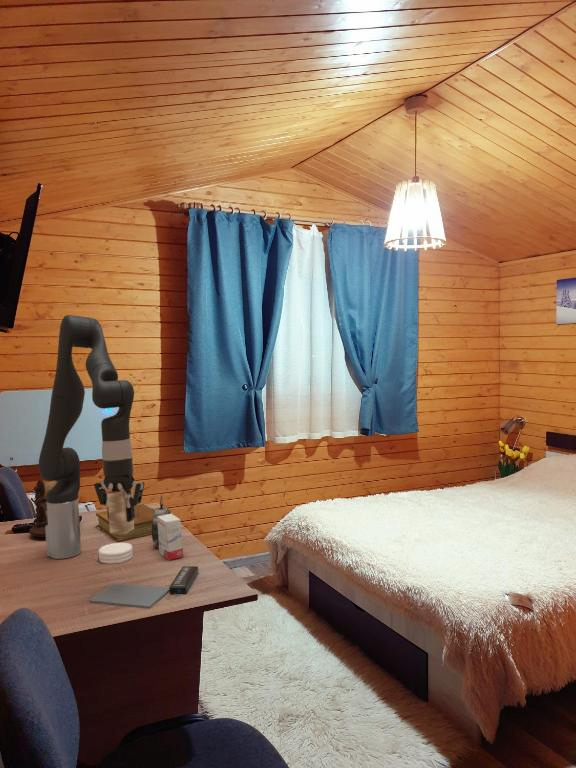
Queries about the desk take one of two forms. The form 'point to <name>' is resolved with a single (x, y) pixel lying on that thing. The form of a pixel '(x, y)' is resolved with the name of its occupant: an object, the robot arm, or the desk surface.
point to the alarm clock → (157, 512)
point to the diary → (140, 524)
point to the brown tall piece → (41, 508)
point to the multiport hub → (183, 580)
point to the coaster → (115, 553)
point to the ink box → (170, 536)
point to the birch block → (118, 513)
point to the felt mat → (130, 595)
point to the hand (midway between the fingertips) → (121, 520)
